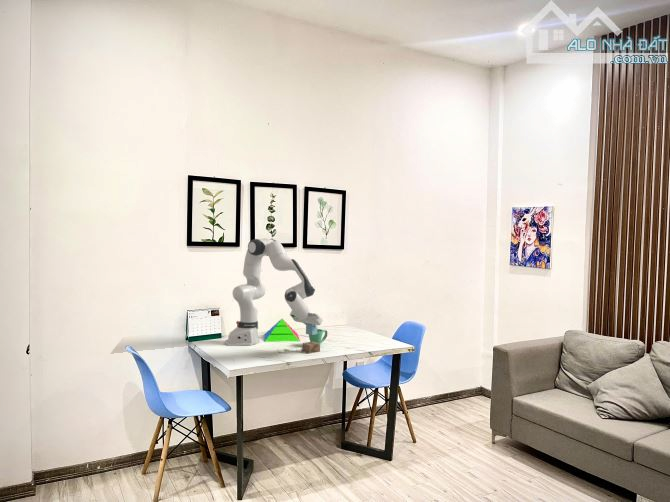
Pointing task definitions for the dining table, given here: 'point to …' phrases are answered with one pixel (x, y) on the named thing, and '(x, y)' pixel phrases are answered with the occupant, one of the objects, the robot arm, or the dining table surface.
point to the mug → (318, 336)
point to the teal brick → (311, 329)
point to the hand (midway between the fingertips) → (312, 325)
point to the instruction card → (285, 350)
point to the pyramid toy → (281, 333)
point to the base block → (311, 347)
